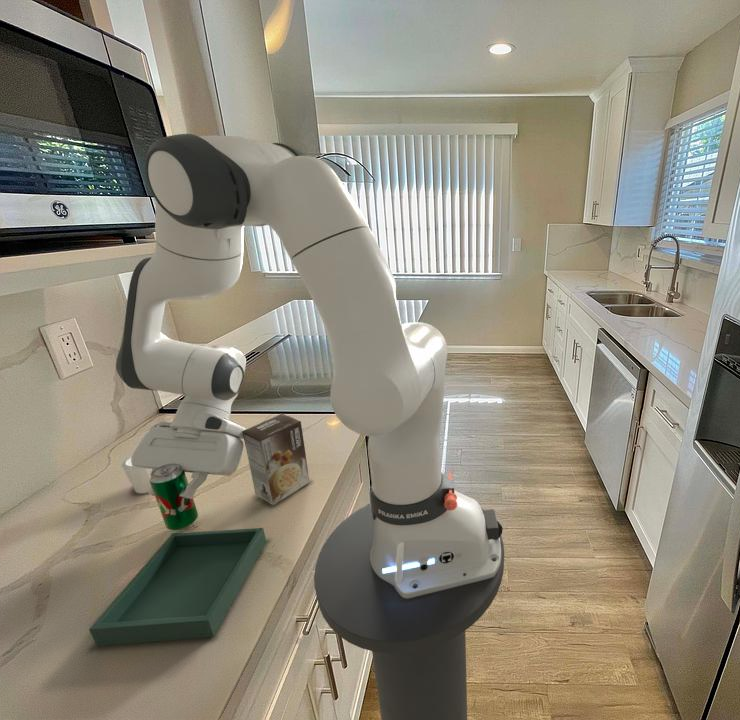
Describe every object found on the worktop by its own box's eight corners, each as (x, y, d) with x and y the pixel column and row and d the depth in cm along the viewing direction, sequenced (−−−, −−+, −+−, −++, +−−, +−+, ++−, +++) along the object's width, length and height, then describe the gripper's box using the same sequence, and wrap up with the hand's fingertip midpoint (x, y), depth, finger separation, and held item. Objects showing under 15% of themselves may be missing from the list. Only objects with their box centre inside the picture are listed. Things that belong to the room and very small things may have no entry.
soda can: (199, 509, 79) (182, 458, 75) (198, 525, 75) (181, 472, 71) (167, 520, 77) (149, 467, 72) (165, 536, 73) (145, 482, 68)
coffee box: (292, 472, 92) (283, 411, 86) (310, 482, 89) (302, 420, 83) (253, 495, 84) (241, 430, 78) (272, 507, 81) (261, 440, 75)
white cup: (173, 485, 88) (164, 458, 86) (133, 499, 83) (123, 471, 81) (167, 472, 93) (159, 446, 90) (129, 485, 88) (119, 458, 86)
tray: (266, 541, 73) (263, 527, 71) (213, 636, 56) (208, 620, 55) (177, 547, 71) (172, 533, 70) (96, 646, 55) (88, 629, 54)
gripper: (140, 416, 77) (106, 489, 72) (234, 422, 74) (206, 499, 69) (167, 425, 83) (137, 493, 77) (255, 431, 80) (230, 503, 74)
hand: (170, 496), depth 73 cm, fingers closed on soda can, 5 cm apart
